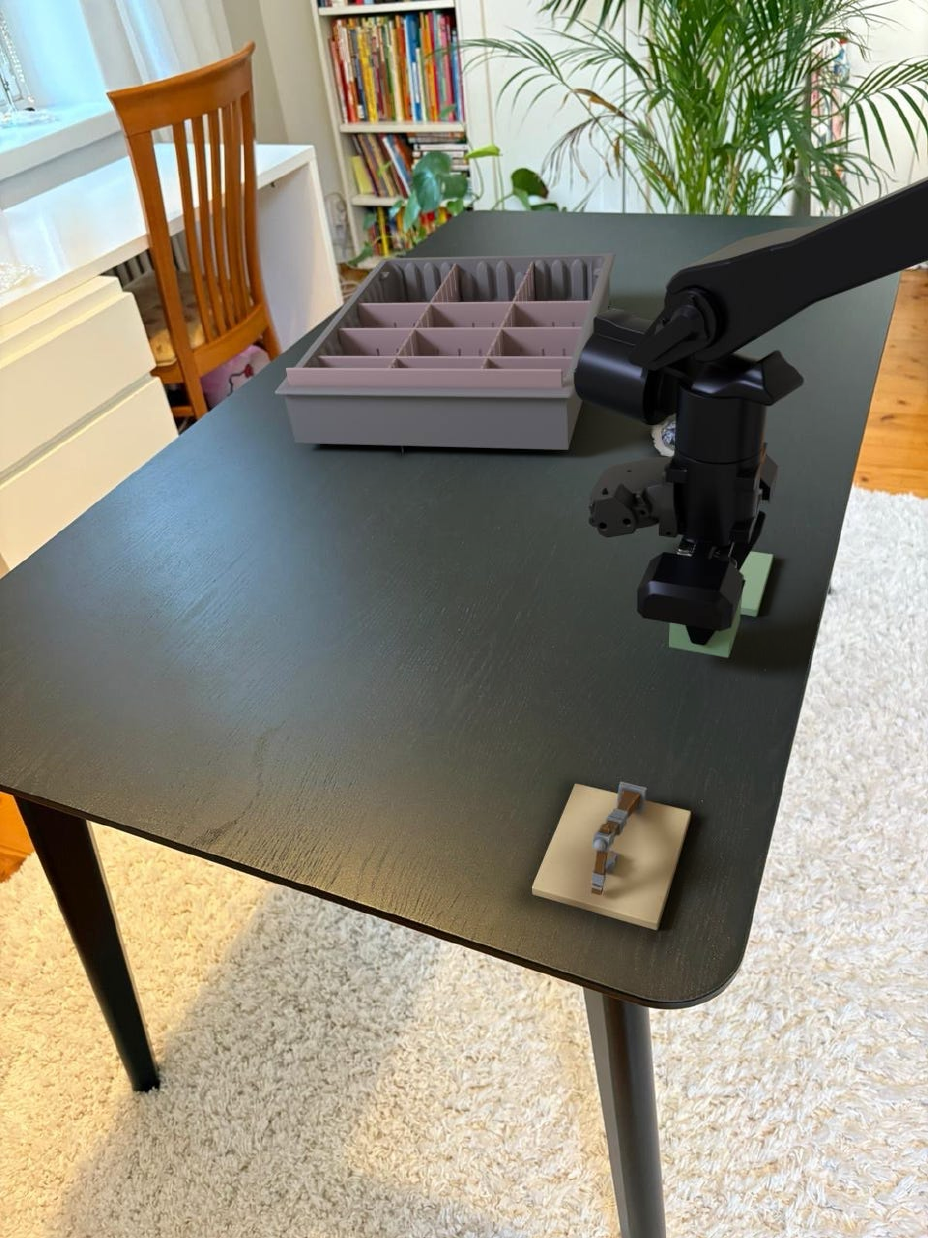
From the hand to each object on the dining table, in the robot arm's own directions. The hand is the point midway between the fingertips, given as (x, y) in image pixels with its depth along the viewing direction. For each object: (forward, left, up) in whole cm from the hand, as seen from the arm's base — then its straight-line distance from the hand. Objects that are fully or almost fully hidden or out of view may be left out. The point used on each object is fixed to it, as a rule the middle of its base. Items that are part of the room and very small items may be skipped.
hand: (705, 623), depth 74 cm
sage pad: (+1, -10, -4) cm, 11 cm away
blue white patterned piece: (+9, -33, -4) cm, 34 cm away
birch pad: (+1, +20, -4) cm, 21 cm away
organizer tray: (+38, -43, -4) cm, 57 cm away
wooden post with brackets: (+1, +20, -3) cm, 20 cm away
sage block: (0, 0, -1) cm, 1 cm away
